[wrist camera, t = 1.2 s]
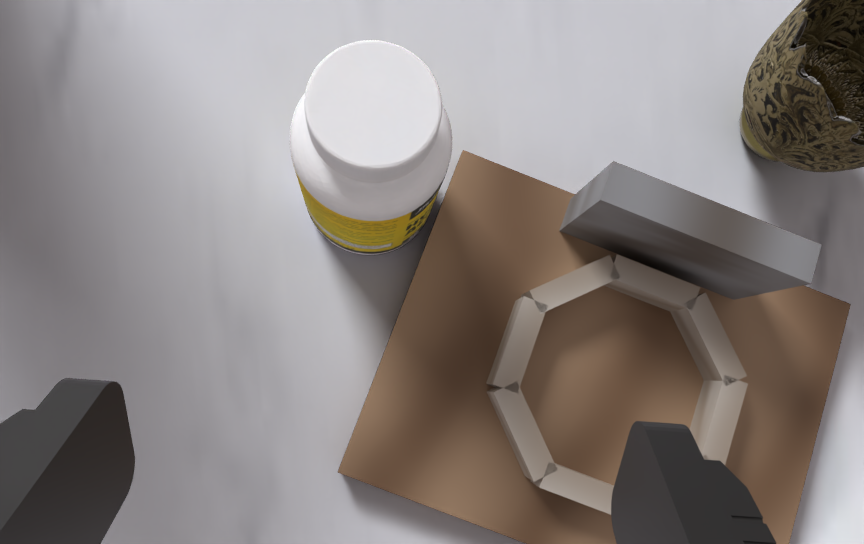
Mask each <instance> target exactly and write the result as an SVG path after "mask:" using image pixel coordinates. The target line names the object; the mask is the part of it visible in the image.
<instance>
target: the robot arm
mask: <svg viewBox="0 0 864 544" xmlns="http://www.w3.org/2000/svg"><path fill="white" fill-rule="evenodd" d="M134 466H135V456H134V449H133V444H132V438H131V433H130V428H129V422H128V417H127V411H126V406H125V400H124V395H123V391H122V388H121V386H120V385H119V383H117V382H114V381H100V380H86V379H73V378H65V379H63V380H61V381H60V382H59V383H58V384H57V385H56V386H55V387H54V388H53V389H52V390H51V392H50V393H49V394H48V395H47V396H46V398H45V399H44V400H43V401H42V403H41V404H40V405H39V406H38V407H37V409H36V410H26V409H22V410H21V411H19V412H18V413H16V414H15V415H13V416H11V417H10V418H8V419H7V420H5V421H4V422H2V423H1V424H0V544H101V542H102V540H103V538H104V536H105V534H106V533H107V531H108V529H109V527H110V525H111V524H112V522H113V520H114V518H115V516H116V514H117V513H118V511H119V509H120V507H121V505H122V504H123V502H124V500H125V498H126V496H127V494H128V492H129V489H130V486H131V483H132V479H133V474H134ZM611 519H612V527H613V532H614V536H615V539H616V543H617V544H776V541H775V539H774V537H773V535H772V534H771V532H770V530H769V528H768V526H767V524H764V523H763V516H762V515H761V513H760V511H759V509H758V507H757V505H756V503H755V501H754V499H753V498H752V496H751V494H750V492H749V490H748V488H747V487H746V486H745V485H744V484H743V483H742V482H741V481H740V480H739V479H738V478H737V477H736V476H735V475H734V474H733V473H732V472H731V471H730V470H729V469H728V468H727V467H726V466H725V465H724V464H723V463H722V462H721V461H718V460H704V458H703V456H702V454H701V452H700V450H699V448H698V446H697V443H696V441H695V439H694V437H693V435H692V433H691V431H690V429H689V428H688V427H687V426H686V425H684V424H673V423H660V422H646V421H636V422H634V423H633V425H632V427H631V429H630V432H629V435H628V439H627V442H626V446H625V449H624V453H623V456H622V460H621V463H620V467H619V470H618V474H617V477H616V481H615V484H614V488H613V492H612V500H611Z"/></svg>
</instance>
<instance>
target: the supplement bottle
mask: <svg viewBox="0 0 864 544" xmlns="http://www.w3.org/2000/svg"><path fill="white" fill-rule="evenodd" d="M290 150H291V156H292V161H293V165H294V168H295V171H296V175H297V178H298V181H299V184H300V188H301V191H302V194H303V197H304V200H305V204H306V207H307V210H308V212H309V215H310V217H311V219H312V221H313V223H314V224H315V226H316V227H317V229H318V230H319V231H320V232H321V234H322V235H323V236H324V237H325V238H327V239H328V240H329V241H330V242H331V243H333V244H334V245H336V246H338V247H339V248H342V249H344V250H346V251H349V252H352V253H356V254H364V255H376V254H383V253H387V252H391V251H394V250H396V249H398V248H400V247H402V246H403V245H405V244H407V243H408V242H409V241H410V240H412V239H413V238H414V237H415V236H416V235H417V233H418V232H419V231H420V230H421V228H422V227H423V225H424V224H425V222H426V220H427V218H428V216H429V214H430V211H431V209H432V206H433V204H434V201H435V199H436V196H437V194H438V191H439V189H440V187H441V184H442V182H443V180H444V178H445V175H446V172H447V169H448V166H449V162H450V158H451V152H452V132H451V125H450V122H449V118H448V115H447V113H446V110H445V108H444V106H443V104H442V99H441V93H440V90H439V86H438V84H437V82H436V80H435V78H434V75H433V74H432V72H431V71H430V69H429V68H428V67H427V66H426V64H425V63H424V62H423V61H422V60H421V59H420V58H418V57H417V56H416V55H415V54H413V53H412V52H410V51H408V50H407V49H405V48H403V47H401V46H399V45H396V44H393V43H389V42H384V41H378V40H365V41H358V42H354V43H350V44H347V45H345V46H342V47H340V48H338V49H336V50H335V51H333V52H331V53H330V54H329V55H328V56H326V57H325V58H324V59H323V60H322V61H321V62H320V63H319V64H318V66H317V67H316V68H315V70H314V71H313V73H312V75H311V77H310V79H309V82H308V84H307V88H306V91H305V94H304V95H303V96H302V98H301V100H300V101H299V103H298V105H297V107H296V109H295V112H294V115H293V118H292V122H291V128H290Z"/></svg>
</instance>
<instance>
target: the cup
mask: <svg viewBox="0 0 864 544" xmlns="http://www.w3.org/2000/svg"><path fill="white" fill-rule="evenodd" d="M740 131H741V134H742V137H743V139H744V141H745V143H746V144H747V146H748V147H749V148H750V149H751V150H752V151H753V152H754V153H755V154H757V155H758V156H760V157H762V158H764V159H767V160H771V161H777V162H783V163H785V164H787V165H789V166H792V167H794V168H797V169H802V170H807V171H814V172H835V171H844V170H850V169H855V168H860V167H864V0H802V1H801V2H800V3H799V4H798V6H797V7H796V8H795V9H794V10H793V11H792V12H791V13H790V14H789V16H788V17H787V18H786V19H785V20H784V21H783V22H782V24H781V25H780V26H779V27H778V28H777V29H776V30H775V32H774V33H773V34H772V35H771V36H770V38H769V39H768V40H767V42H766V43H765V44H764V46H763V47H762V48H761V50H760V51H759V53H758V54H757V56H756V58H755V59H754V61H753V63H752V65H751V67H750V69H749V72H748V74H747V78H746V81H745V85H744V92H743V109H742V111H741V115H740Z"/></svg>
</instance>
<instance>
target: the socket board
mask: <svg viewBox="0 0 864 544" xmlns="http://www.w3.org/2000/svg"><path fill="white" fill-rule="evenodd" d="M821 246H822V244H819V243H817V242H814V241H812V240H809V239H807V238H804V237H802V236H799V235H797V234H794V233H792V232H789V231H787V230H784V229H782V228H779V227H777V226H774V225H772V224H769V223H767V222H764V221H762V220H759V219H757V218H754V217H752V216H749V215H747V214H744V213H742V212H739V211H737V210H734V209H732V208H729V207H727V206H724V205H722V204H719V203H717V202H714V201H712V200H709V199H707V198H704V197H702V196H699V195H697V194H694V193H692V192H689V191H687V190H684V189H682V188H679V187H677V186H674V185H672V184H669V183H667V182H664V181H662V180H659V179H657V178H654V177H652V176H649V175H647V174H644V173H642V172H639V171H637V170H634V169H632V168H629V167H627V166H624V165H622V164H619V163H617V162H614V161H613V162H612V163H611V164H610V165H609V166H607V167H606V168H605V169H604V170H603V171H602V172H601V173H599V174H598V175H597V176H596V177H595V178H594V179H593V180H591V181H590V182H589V183H588V184H587V185H586V186H585V187H583V188H582V189H581V190H580V191H579V192H578V193H577V194H572V193H570V192H567V191H565V190H562V189H560V188H557V187H555V186H552V185H550V184H547V183H545V182H542V181H540V180H537V179H534V178H532V177H529V176H527V175H524V174H522V173H519V172H517V171H514V170H512V169H509V168H507V167H504V166H502V165H499V164H497V163H494V162H492V161H489V160H487V159H484V158H482V157H479V156H477V155H474V154H472V153H469V152H467V151H464V150H463V151H462V154H461V156H460V158H459V161H458V163H457V166H456V169H455V171H454V174H453V176H452V179H451V181H450V184H449V187H448V189H447V192H446V194H445V197H444V199H443V202H442V205H441V207H440V210H439V212H438V215H437V217H436V220H435V223H434V225H433V228H432V230H431V233H430V236H429V238H428V241H427V243H426V246H425V248H424V251H423V254H422V256H421V259H420V261H419V264H418V266H417V269H416V272H415V274H414V277H413V279H412V282H411V284H410V287H409V290H408V292H407V295H406V297H405V300H404V302H403V305H402V308H401V310H400V313H399V315H398V318H397V320H396V323H395V326H394V328H393V331H392V333H391V336H390V338H389V341H388V344H387V346H386V349H385V351H384V354H383V357H382V359H381V362H380V364H379V367H378V369H377V372H376V375H375V377H374V380H373V382H372V385H371V387H370V390H369V393H368V395H367V398H366V400H365V403H364V405H363V408H362V411H361V413H360V416H359V418H358V421H357V423H356V426H355V429H354V431H353V434H352V436H351V439H350V441H349V444H348V447H347V449H346V452H345V454H344V457H343V459H342V462H341V465H340V467H339V470H338V473H341V474H343V475H346V476H349V477H351V478H354V479H357V480H359V481H362V482H365V483H367V484H370V485H373V486H375V487H378V488H380V489H383V490H386V491H388V492H391V493H394V494H396V495H399V496H402V497H404V498H407V499H410V500H412V501H415V502H418V503H420V504H423V505H425V506H428V507H431V508H433V509H436V510H439V511H441V512H444V513H447V514H449V515H452V516H455V517H457V518H460V519H463V520H465V521H468V522H470V523H473V524H476V525H478V526H481V527H484V528H486V529H489V530H492V531H494V532H497V533H500V534H502V535H505V536H508V537H510V538H513V539H516V540H518V541H521V542H523V543H526V544H617V543H616V539H615V536H614V532H613V527H612V519H611V500H612V492H613V488H614V484H615V481H616V477H617V474H618V470H619V467H620V463H621V460H622V456H623V453H624V449H625V446H626V442H627V439H628V435H629V432H630V429H631V427H632V425H633V423H634V422H636V421H646V422H660V423H673V424H684V425H686V426H687V427H688V428H689V429H690V431H691V433H692V435H693V437H694V439H695V441H696V443H697V446H698V448H699V450H700V452H701V454H702V456H703V458H704V460H718V461H721V462H722V463H723V464H724V465H725V466H726V467H727V468H728V469H729V470H730V471H731V472H732V473H733V474H734V475H735V476H736V477H737V478H738V479H739V480H740V481H741V482H742V483H743V484H744V485H745V486H746V487H747V488H748V490H749V492H750V494H751V496H752V498H753V499H754V501H755V503H756V505H757V507H758V509H759V511H760V513H761V515H762V516H763V523H764V524H767V526H768V528H769V530H770V532H771V534H772V535H773V537H774V539H775V541H776V544H789V541H790V537H791V533H792V530H793V526H794V522H795V518H796V514H797V510H798V506H799V502H800V499H801V495H802V491H803V487H804V483H805V479H806V475H807V471H808V468H809V464H810V460H811V456H812V452H813V448H814V444H815V440H816V437H817V433H818V429H819V425H820V421H821V417H822V413H823V409H824V406H825V402H826V398H827V394H828V390H829V386H830V382H831V378H832V375H833V371H834V367H835V363H836V359H837V355H838V351H839V347H840V344H841V340H842V336H843V332H844V328H845V324H846V320H847V316H848V313H849V309H850V305H851V304H849V303H846V302H844V301H841V300H839V299H836V298H834V297H831V296H829V295H826V294H824V293H821V292H819V291H816V290H814V289H811V288H809V287H806V286H804V285H807V284H811V283H812V279H813V275H814V272H815V268H816V264H817V261H818V257H819V253H820V249H821Z"/></svg>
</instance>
